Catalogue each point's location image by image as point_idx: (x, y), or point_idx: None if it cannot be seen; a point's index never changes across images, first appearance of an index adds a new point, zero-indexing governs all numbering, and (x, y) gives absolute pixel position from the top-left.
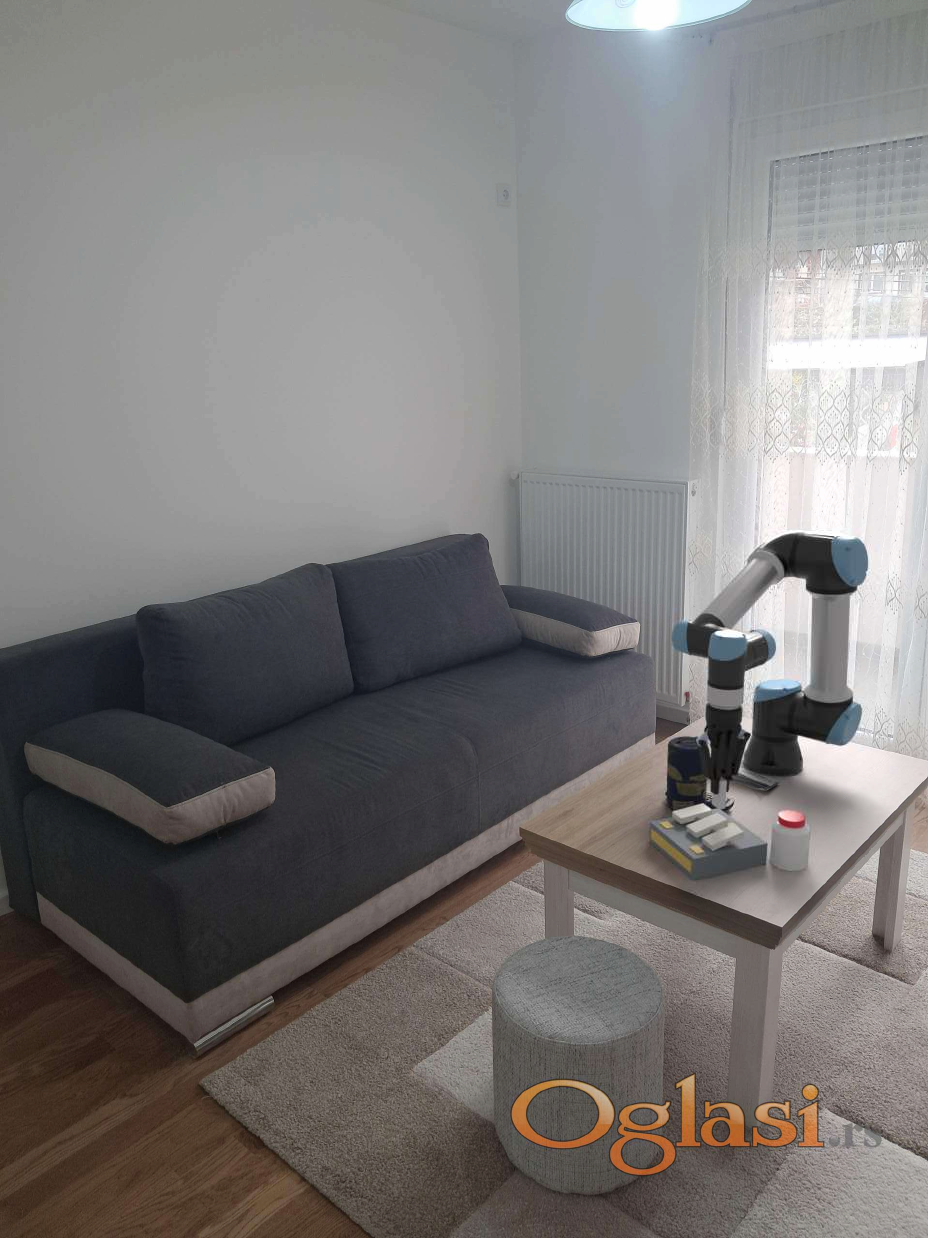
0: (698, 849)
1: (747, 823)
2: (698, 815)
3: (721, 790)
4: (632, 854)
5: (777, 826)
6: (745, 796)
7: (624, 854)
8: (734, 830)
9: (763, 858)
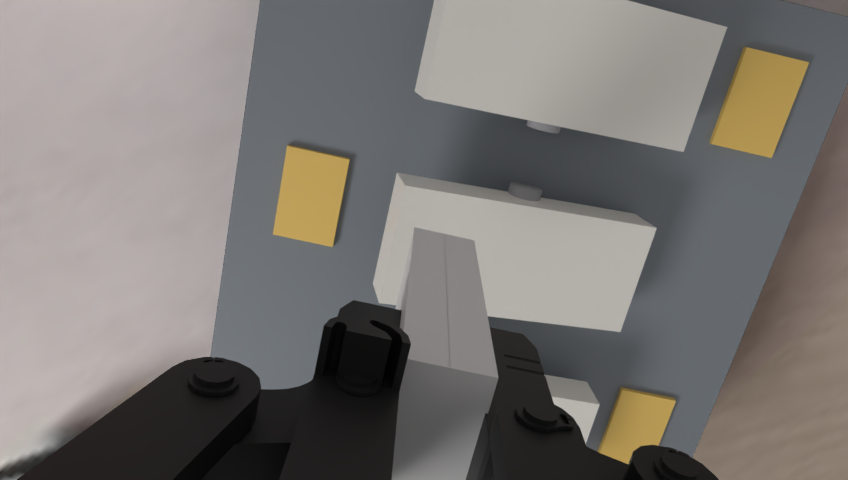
0: (755, 94)
1: (61, 301)
2: None
3: (473, 315)
4: (793, 389)
5: None
6: None
7: (821, 409)
8: (488, 28)
9: None
